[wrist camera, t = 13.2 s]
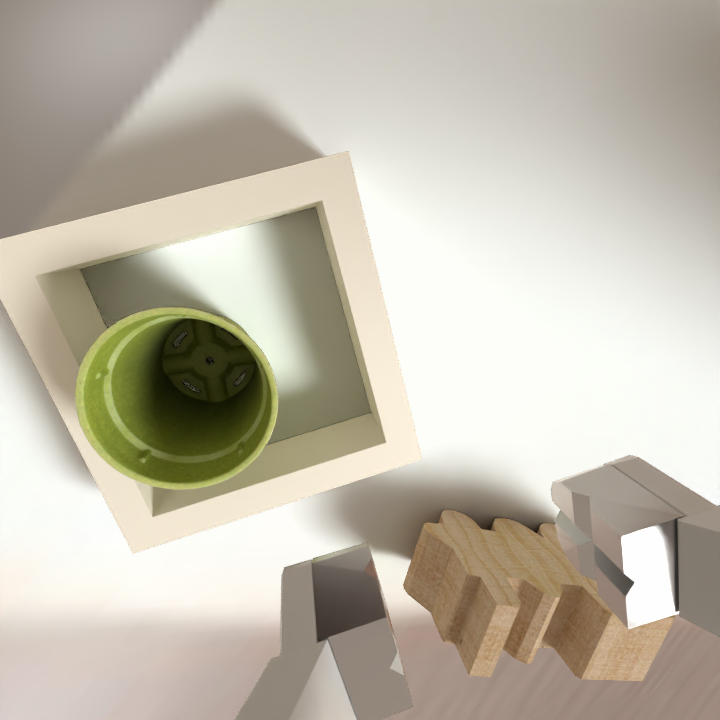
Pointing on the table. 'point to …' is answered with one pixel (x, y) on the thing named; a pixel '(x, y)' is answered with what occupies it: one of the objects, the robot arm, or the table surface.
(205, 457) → the plant pot
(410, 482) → the table surface
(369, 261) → the cream open tray
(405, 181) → the table surface
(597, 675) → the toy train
